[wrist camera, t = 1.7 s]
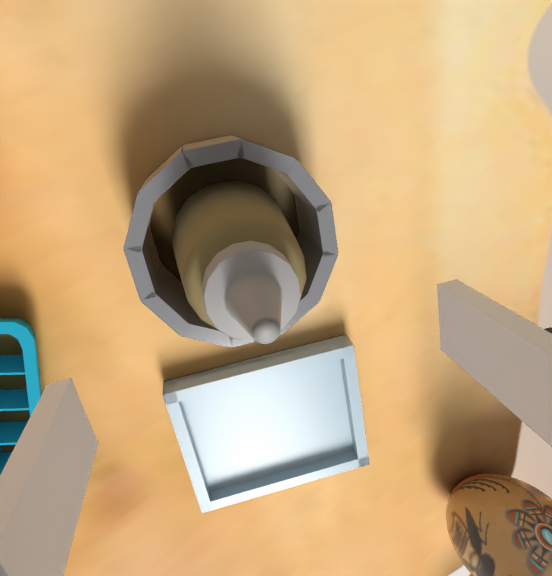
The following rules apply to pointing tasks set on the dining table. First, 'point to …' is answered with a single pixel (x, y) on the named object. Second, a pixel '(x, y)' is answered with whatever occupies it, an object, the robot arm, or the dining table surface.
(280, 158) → the grey faceted ring
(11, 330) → the ice cube tray
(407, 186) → the dining table surface
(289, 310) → the squeeze bottle
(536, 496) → the ceramic vessel
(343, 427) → the tray
